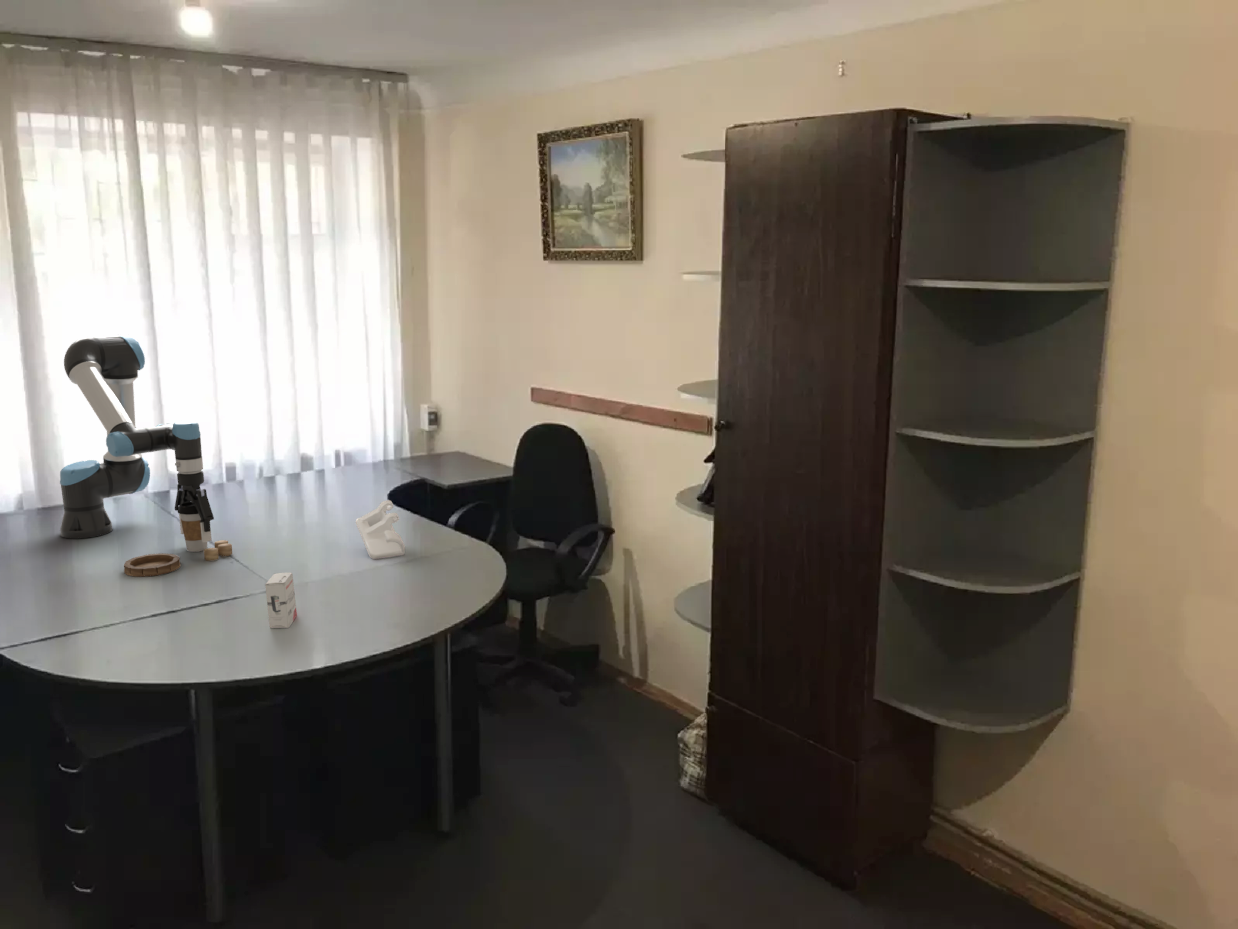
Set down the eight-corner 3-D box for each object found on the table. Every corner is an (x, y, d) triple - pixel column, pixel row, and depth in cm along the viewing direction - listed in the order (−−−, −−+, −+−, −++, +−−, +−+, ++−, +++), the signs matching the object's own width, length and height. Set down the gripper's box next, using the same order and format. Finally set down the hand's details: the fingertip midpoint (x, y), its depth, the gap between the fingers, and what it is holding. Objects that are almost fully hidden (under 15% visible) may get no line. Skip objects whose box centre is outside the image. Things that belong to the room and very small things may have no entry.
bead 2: (212, 551, 300) (211, 542, 300) (224, 548, 303) (224, 539, 303) (219, 554, 298) (218, 544, 297) (231, 551, 301) (230, 542, 300)
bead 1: (202, 559, 293) (201, 549, 292) (214, 556, 296) (213, 547, 295) (208, 562, 290) (207, 552, 290) (221, 558, 293) (220, 549, 293)
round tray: (115, 569, 283) (114, 561, 282) (166, 557, 294) (165, 550, 293) (138, 580, 273) (137, 572, 273) (189, 567, 284) (189, 560, 284)
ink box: (277, 616, 247) (273, 572, 244) (297, 615, 247) (294, 571, 245) (268, 629, 238) (264, 583, 236) (288, 628, 239) (285, 583, 236)
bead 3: (216, 554, 297) (215, 545, 296) (228, 552, 300) (227, 542, 299) (222, 557, 295) (221, 548, 294) (234, 554, 298) (234, 545, 297)
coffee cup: (200, 553, 298) (196, 507, 295) (176, 552, 299) (172, 505, 296) (217, 546, 306) (213, 500, 303) (193, 544, 307) (189, 498, 304)
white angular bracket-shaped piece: (405, 567, 302) (409, 536, 294) (369, 572, 296) (373, 541, 289) (386, 525, 315) (390, 494, 307) (352, 530, 309) (355, 499, 302)
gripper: (159, 467, 302) (165, 532, 307) (198, 479, 287) (204, 547, 291) (182, 463, 308) (188, 527, 312) (221, 475, 292) (227, 542, 297)
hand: (196, 537), depth 302 cm, fingers open, 13 cm apart
